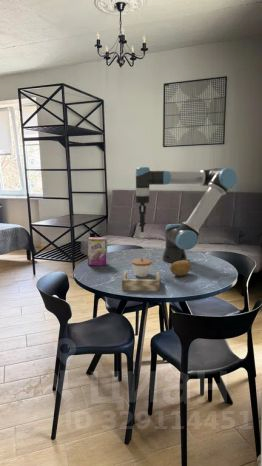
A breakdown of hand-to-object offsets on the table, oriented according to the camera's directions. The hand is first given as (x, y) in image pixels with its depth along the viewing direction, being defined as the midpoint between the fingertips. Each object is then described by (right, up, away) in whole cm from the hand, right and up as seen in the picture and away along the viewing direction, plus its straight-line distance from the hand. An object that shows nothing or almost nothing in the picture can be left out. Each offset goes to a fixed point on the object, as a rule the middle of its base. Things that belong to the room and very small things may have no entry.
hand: (142, 236), depth 181 cm
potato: (+20, -21, -9) cm, 30 cm away
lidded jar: (-1, -21, -8) cm, 23 cm away
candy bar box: (-27, -17, +12) cm, 34 cm away
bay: (-2, -24, -25) cm, 34 cm away
